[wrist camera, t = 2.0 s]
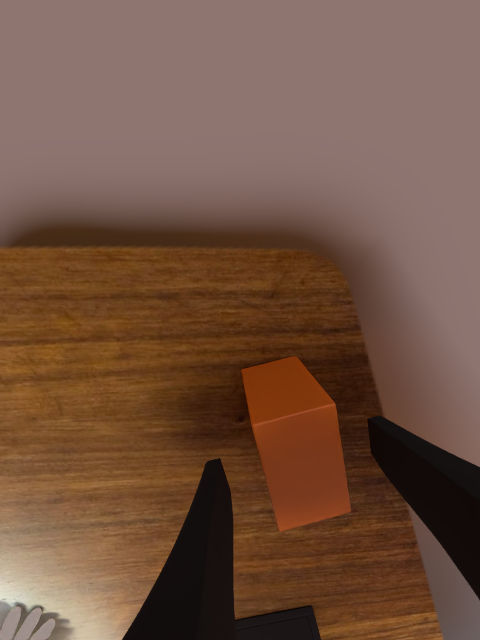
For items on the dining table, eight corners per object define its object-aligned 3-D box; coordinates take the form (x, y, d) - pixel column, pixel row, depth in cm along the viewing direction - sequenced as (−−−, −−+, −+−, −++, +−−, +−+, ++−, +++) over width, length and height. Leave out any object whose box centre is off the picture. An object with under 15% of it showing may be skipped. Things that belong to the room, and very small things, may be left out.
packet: (295, 354, 14) (336, 403, 9) (310, 434, 15) (352, 512, 10) (240, 368, 14) (251, 425, 9) (260, 447, 15) (279, 532, 10)
